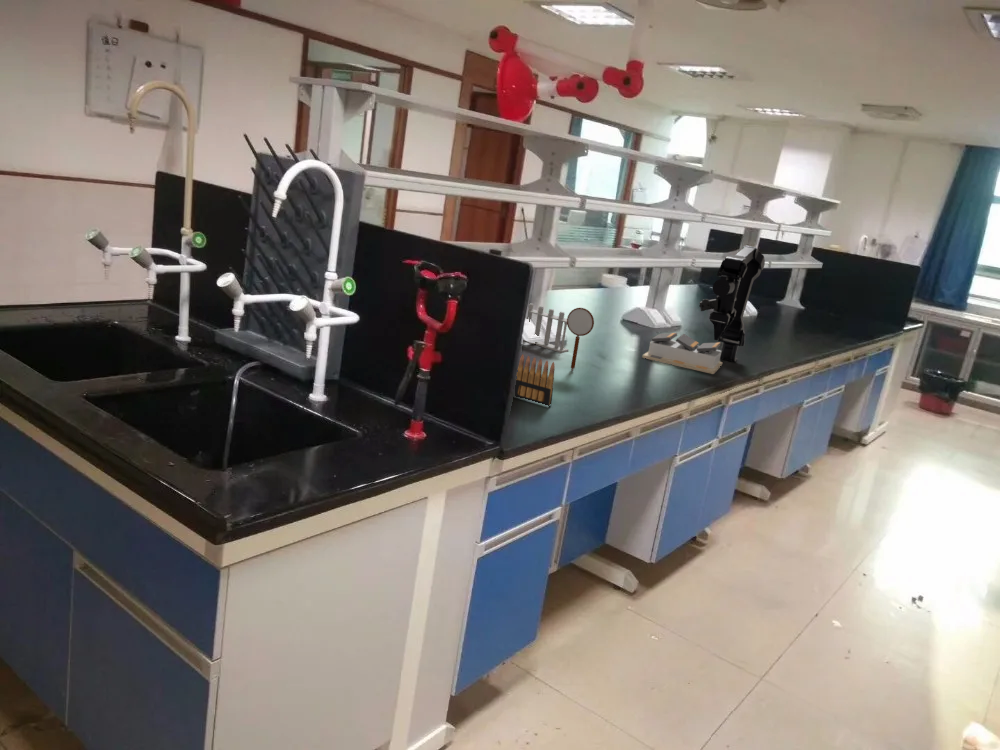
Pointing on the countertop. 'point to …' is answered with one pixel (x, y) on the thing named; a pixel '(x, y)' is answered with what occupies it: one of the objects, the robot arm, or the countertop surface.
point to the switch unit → (684, 356)
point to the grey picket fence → (549, 328)
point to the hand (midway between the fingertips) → (718, 338)
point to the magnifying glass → (579, 327)
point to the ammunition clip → (534, 381)
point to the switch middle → (687, 342)
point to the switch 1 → (664, 337)
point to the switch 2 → (709, 346)
